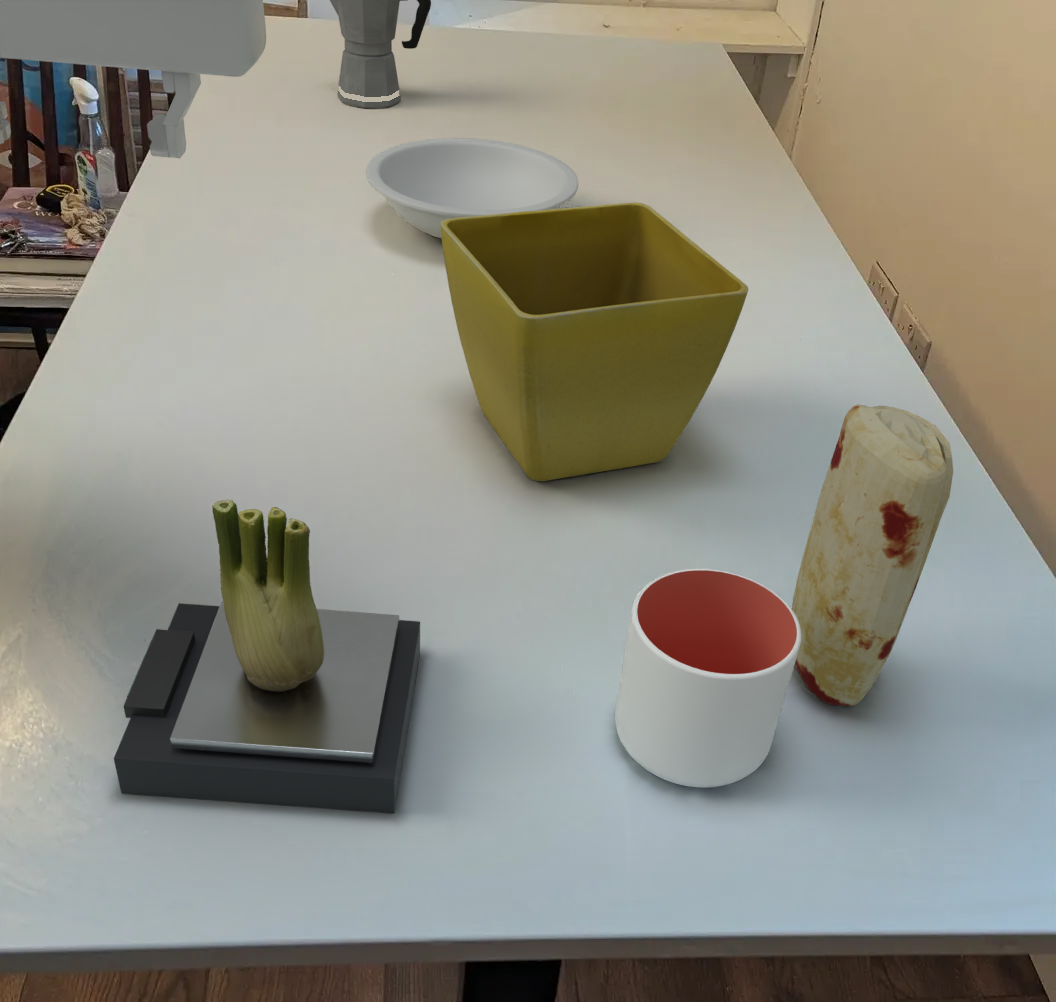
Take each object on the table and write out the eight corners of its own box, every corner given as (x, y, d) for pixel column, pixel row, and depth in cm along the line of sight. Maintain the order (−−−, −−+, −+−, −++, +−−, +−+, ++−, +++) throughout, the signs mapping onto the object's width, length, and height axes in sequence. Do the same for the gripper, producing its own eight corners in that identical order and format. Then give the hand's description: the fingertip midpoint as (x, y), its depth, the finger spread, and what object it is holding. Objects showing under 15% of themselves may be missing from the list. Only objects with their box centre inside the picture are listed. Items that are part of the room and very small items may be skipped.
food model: (756, 634, 84) (819, 385, 72) (842, 625, 86) (919, 380, 73) (810, 731, 77) (891, 474, 64) (903, 720, 78) (1000, 466, 66)
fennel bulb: (219, 662, 72) (197, 500, 65) (287, 630, 75) (274, 471, 67) (271, 715, 69) (255, 551, 61) (340, 679, 72) (333, 518, 64)
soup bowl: (408, 284, 125) (408, 223, 121) (340, 201, 141) (338, 145, 137) (608, 260, 133) (615, 202, 129) (522, 184, 150) (526, 131, 146)
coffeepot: (318, 105, 169) (312, -35, 157) (329, 86, 176) (324, -50, 165) (426, 114, 169) (428, -25, 158) (432, 94, 176) (434, -40, 165)
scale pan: (171, 748, 68) (169, 738, 67) (222, 610, 77) (221, 601, 77) (373, 763, 68) (373, 754, 67) (399, 624, 77) (399, 614, 77)
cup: (784, 796, 72) (822, 677, 66) (624, 798, 71) (646, 678, 65) (748, 684, 80) (778, 567, 74) (602, 684, 79) (620, 566, 73)
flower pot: (432, 396, 107) (436, 216, 96) (621, 371, 113) (644, 198, 103) (508, 513, 94) (522, 318, 83) (717, 476, 100) (754, 291, 89)
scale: (112, 793, 69) (102, 749, 67) (176, 636, 80) (169, 594, 77) (394, 813, 69) (394, 771, 67) (420, 654, 80) (420, 613, 78)
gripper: (-234, -168, 52) (-143, 151, 61) (232, -128, 52) (256, 183, 61) (-164, -184, 57) (-89, 113, 65) (262, -148, 57) (280, 143, 66)
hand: (81, 147), depth 63 cm, fingers open, 8 cm apart
